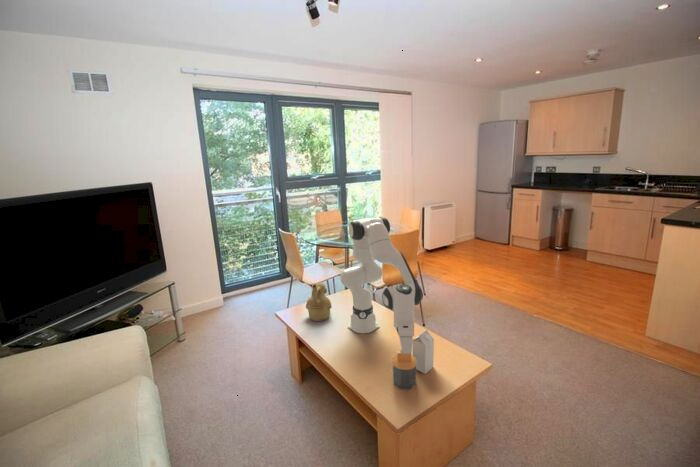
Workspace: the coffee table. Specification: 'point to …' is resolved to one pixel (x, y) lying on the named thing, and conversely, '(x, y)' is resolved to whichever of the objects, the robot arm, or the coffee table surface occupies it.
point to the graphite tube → (404, 378)
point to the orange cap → (404, 361)
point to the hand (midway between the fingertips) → (404, 350)
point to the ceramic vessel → (319, 303)
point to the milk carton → (423, 351)
